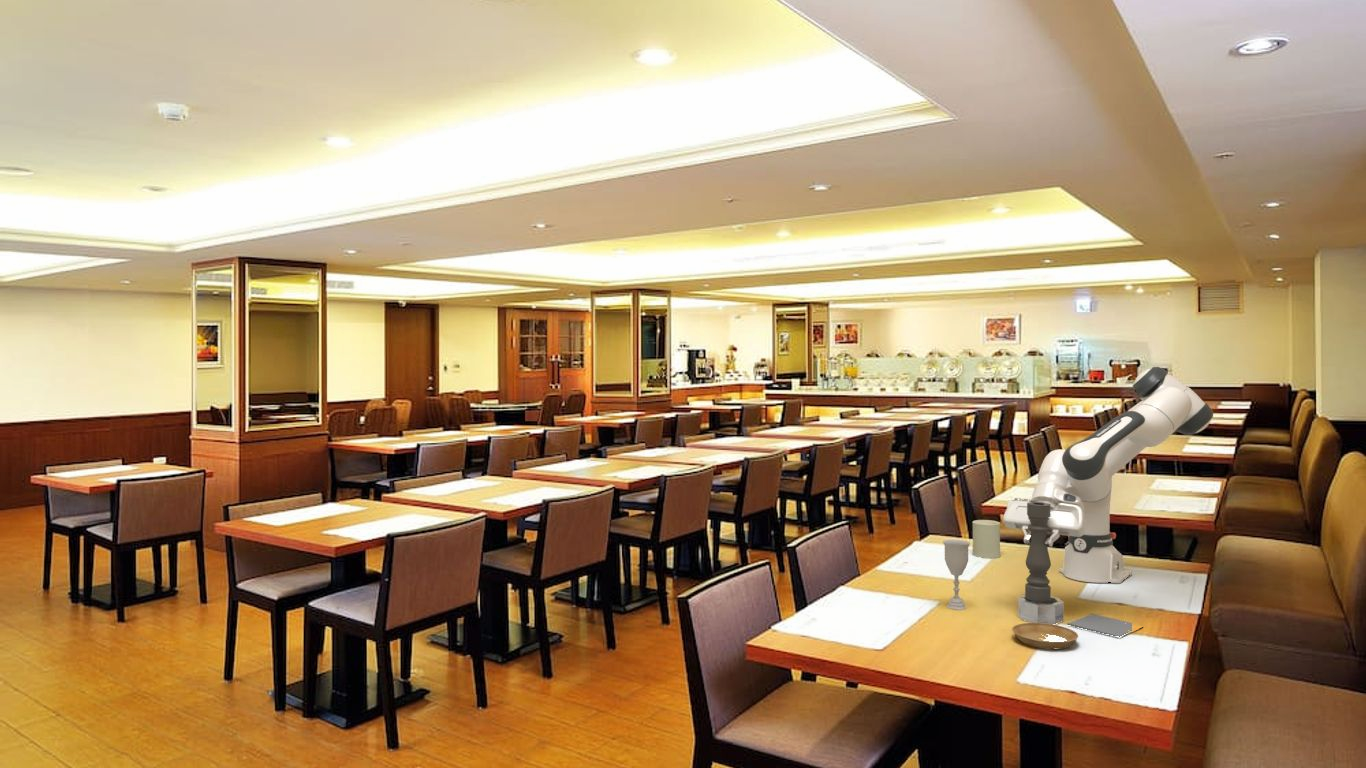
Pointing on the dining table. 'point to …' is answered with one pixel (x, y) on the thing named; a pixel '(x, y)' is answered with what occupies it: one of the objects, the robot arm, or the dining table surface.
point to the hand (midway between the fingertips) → (1037, 543)
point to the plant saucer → (1033, 631)
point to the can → (986, 539)
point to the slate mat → (1103, 625)
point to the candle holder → (1038, 553)
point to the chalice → (956, 567)
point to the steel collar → (1040, 610)
